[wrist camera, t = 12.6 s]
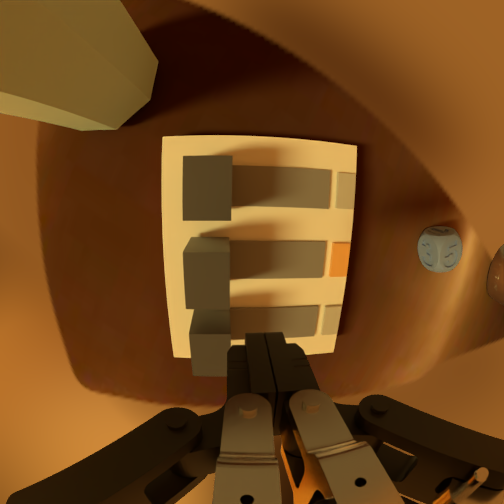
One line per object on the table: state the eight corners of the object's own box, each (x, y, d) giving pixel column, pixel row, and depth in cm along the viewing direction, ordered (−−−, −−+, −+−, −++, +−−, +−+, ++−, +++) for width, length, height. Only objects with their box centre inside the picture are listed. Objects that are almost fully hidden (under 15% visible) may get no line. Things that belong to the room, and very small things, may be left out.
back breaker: (229, 306, 24) (230, 334, 19) (230, 344, 25) (231, 376, 20) (194, 306, 23) (188, 333, 19) (197, 344, 24) (193, 375, 20)
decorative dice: (440, 224, 27) (463, 231, 23) (441, 256, 28) (462, 266, 24) (416, 230, 27) (439, 238, 23) (417, 264, 28) (438, 275, 24)
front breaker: (231, 159, 20) (232, 155, 16) (230, 211, 21) (231, 220, 17) (191, 159, 20) (182, 155, 16) (191, 211, 21) (182, 220, 17)
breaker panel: (345, 148, 24) (358, 145, 21) (326, 339, 29) (334, 354, 26) (168, 140, 22) (161, 136, 20) (177, 343, 28) (173, 359, 25)
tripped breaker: (229, 237, 22) (229, 252, 18) (228, 284, 23) (229, 309, 19) (191, 236, 22) (182, 252, 17) (192, 284, 23) (185, 309, 18)
